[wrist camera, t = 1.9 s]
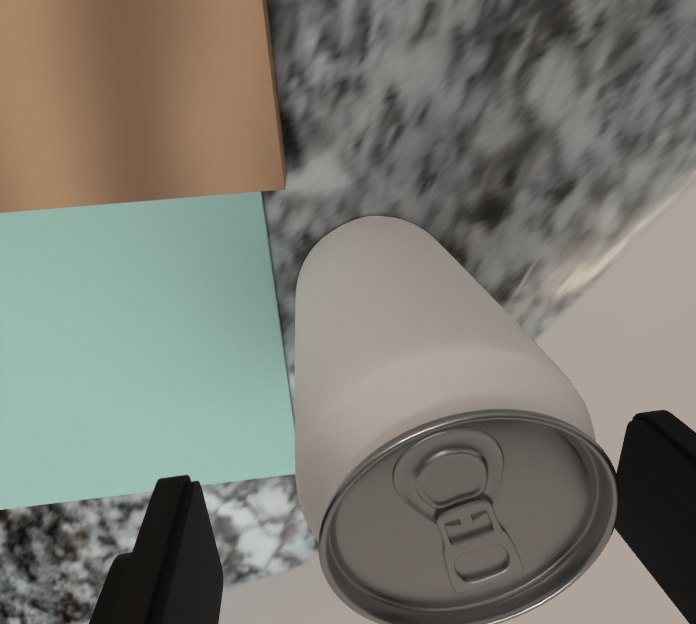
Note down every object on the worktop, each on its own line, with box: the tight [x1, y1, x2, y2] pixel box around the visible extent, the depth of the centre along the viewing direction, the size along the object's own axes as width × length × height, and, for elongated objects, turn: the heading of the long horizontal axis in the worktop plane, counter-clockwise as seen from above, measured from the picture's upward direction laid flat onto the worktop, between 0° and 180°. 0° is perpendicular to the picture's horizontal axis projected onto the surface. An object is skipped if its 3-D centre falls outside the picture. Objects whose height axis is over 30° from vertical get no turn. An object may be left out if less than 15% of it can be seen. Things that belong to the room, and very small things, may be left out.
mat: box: [0, 191, 296, 510], centre depth 19 cm, size 18×14×1 cm
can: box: [295, 216, 620, 624], centre depth 14 cm, size 6×6×12 cm
